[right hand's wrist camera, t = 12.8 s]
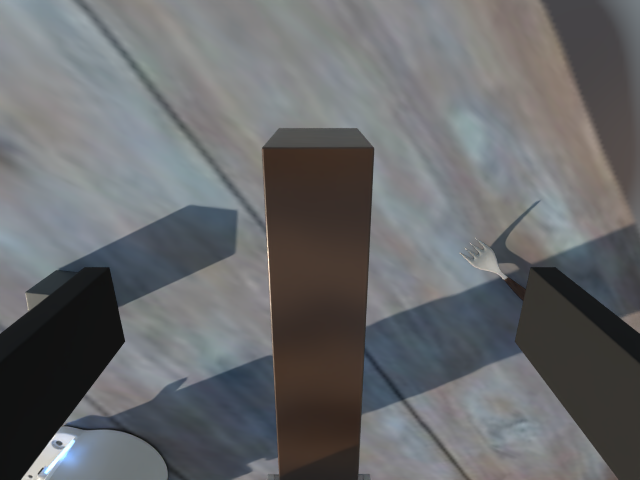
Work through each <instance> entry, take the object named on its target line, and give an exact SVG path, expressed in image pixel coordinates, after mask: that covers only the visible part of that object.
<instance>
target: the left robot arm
mask: <svg viewBox="0 0 640 480" xmlns="http://www.w3.org/2000/svg"><path fill="white" fill-rule="evenodd" d="M167 479H168V471H167V466H166V464H165V462H164V460H163V458H162V457H161V455H160V454H159V453H158V452H157V451H156V450H155V449H154V448H153V447H152V446H151V445H149V444H148V443H147V442H145V441H143V440H142V439H140V438H138V437H136V436H133V435H131V434H128V433H125V432H121V431H115V430H82V429H78V428H73V427H67V426H63V427H60V429H59V430H58V431H57V433H56V434H55V435H54V437H53V438H52V439H51V441H50V442H49V443H48V445H47V446H46V447H45V449H44V450H43V451H42V453H41V454H40V455H39V457H38V458H37V459H36V461H35V462H34V463H33V465H32V466H31V467H30V469H29V470H28V471H27V473H26V474H25V475H24V477H23V478H22V479H21V480H167ZM267 480H279V475H276V474H275V475H274V474H268V477H267ZM358 480H370V475H369V474H358Z"/></svg>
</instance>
